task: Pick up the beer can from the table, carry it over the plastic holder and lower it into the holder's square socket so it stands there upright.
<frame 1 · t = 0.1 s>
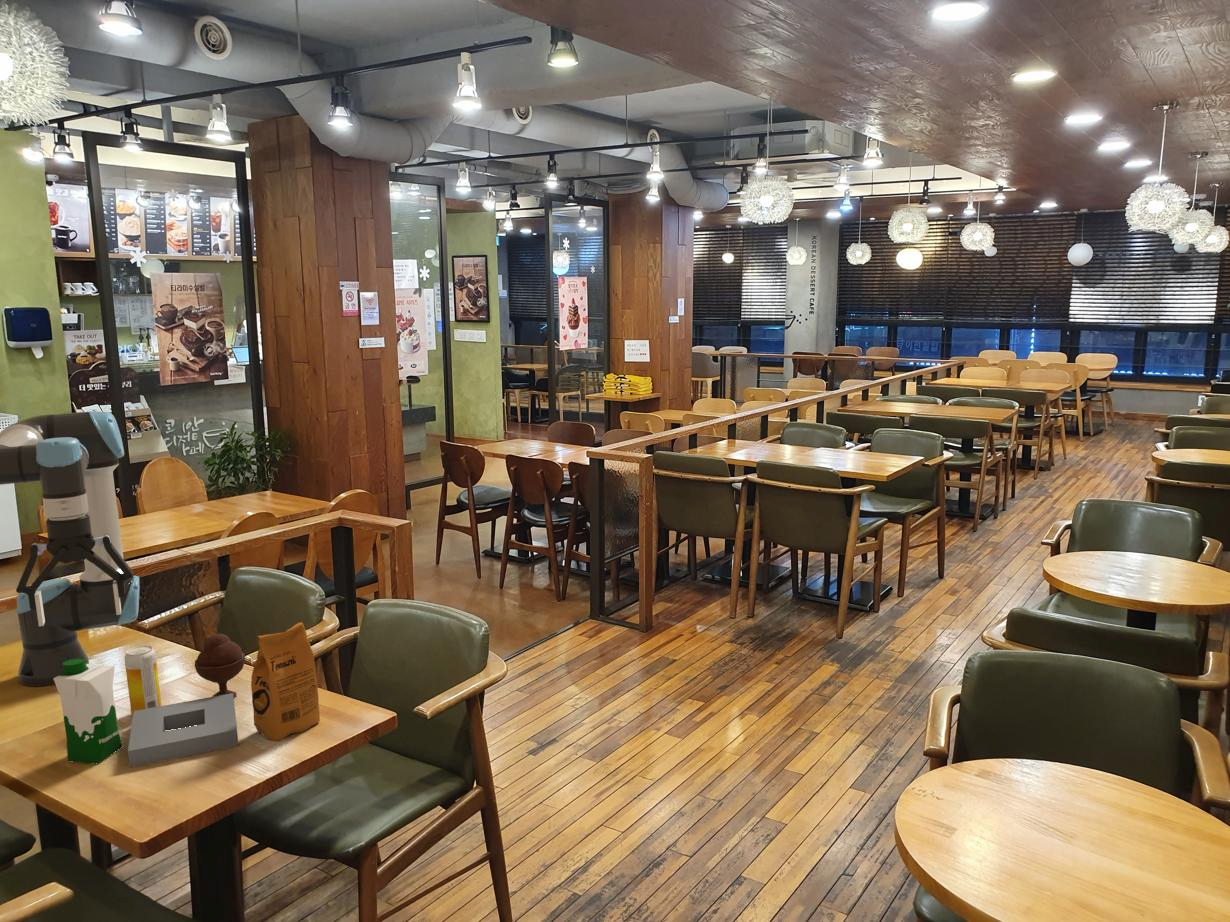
hand: (81, 618, 187), 28 cm above the table, tool pointing down, fingers open, 13 cm apart
ice cream bowl: (224, 698, 215), on the table
socket holder: (185, 735, 196), on the table
coffee package: (287, 728, 199), on the table
milk carton: (96, 755, 189), on the table
beer can: (147, 714, 207), on the table
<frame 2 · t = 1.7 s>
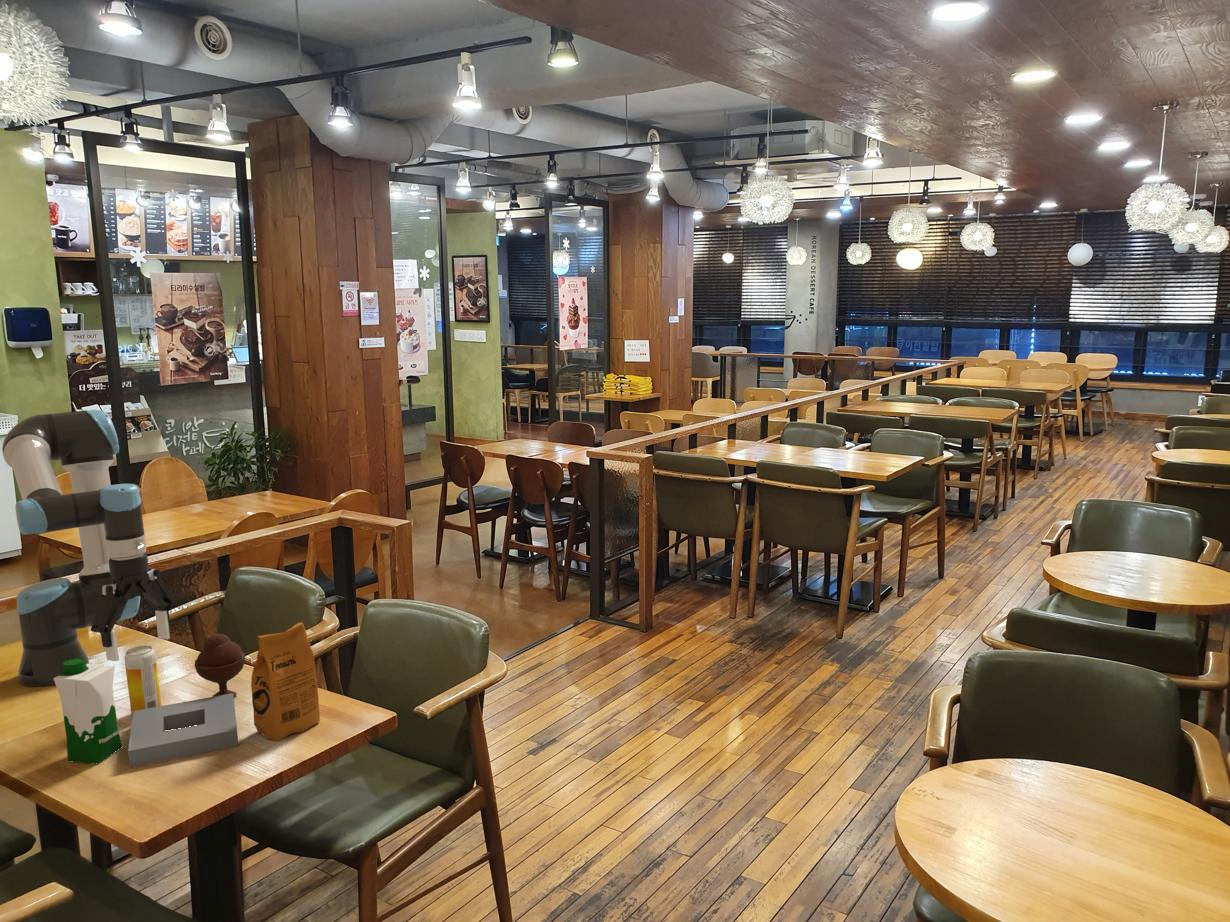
hand: (139, 649, 204), 15 cm above the table, tool pointing down, fingers open, 13 cm apart
nothing on the table moved.
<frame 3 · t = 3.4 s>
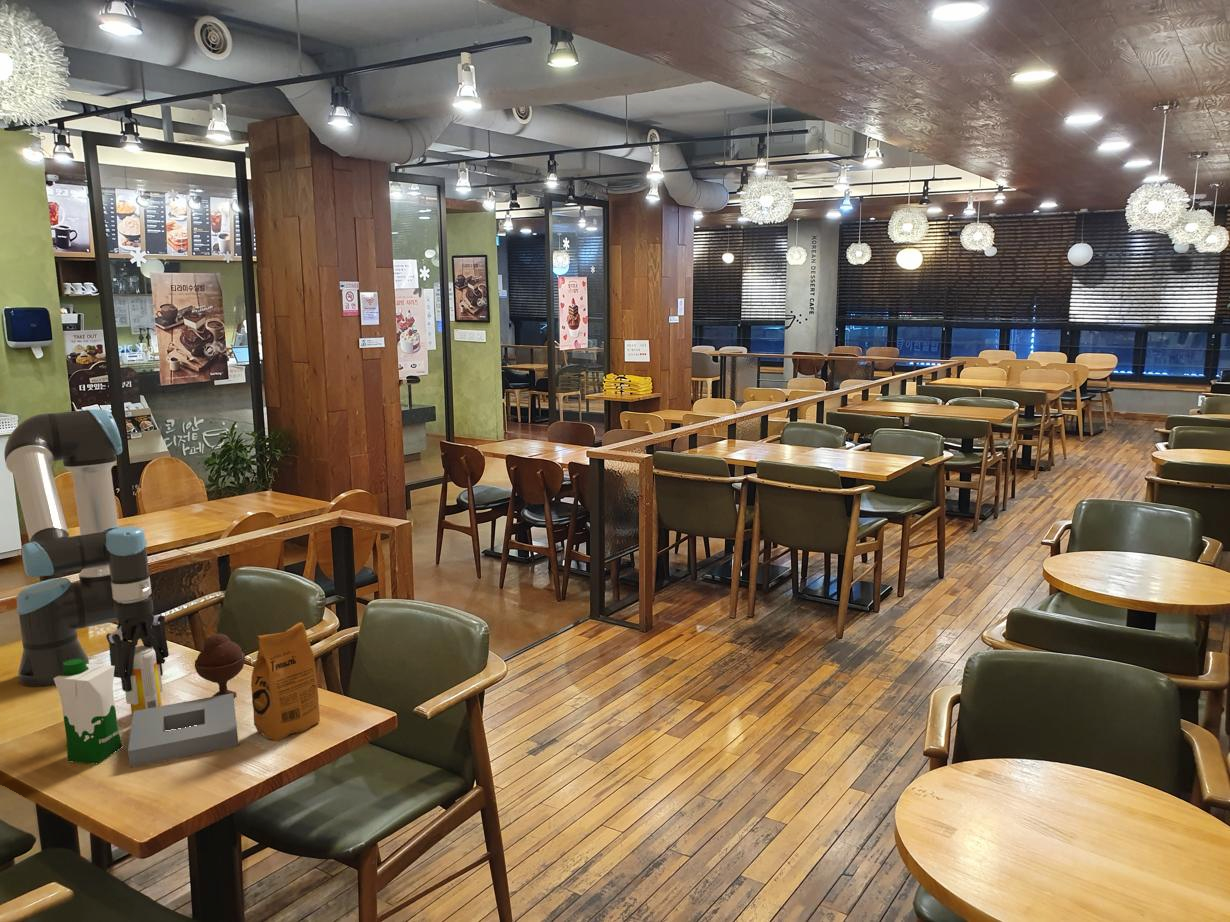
hand: (144, 697, 207), 4 cm above the table, tool pointing down, fingers closed on beer can, 6 cm apart
beer can: (147, 714, 207), on the table, touching gripper
everything else where it was.
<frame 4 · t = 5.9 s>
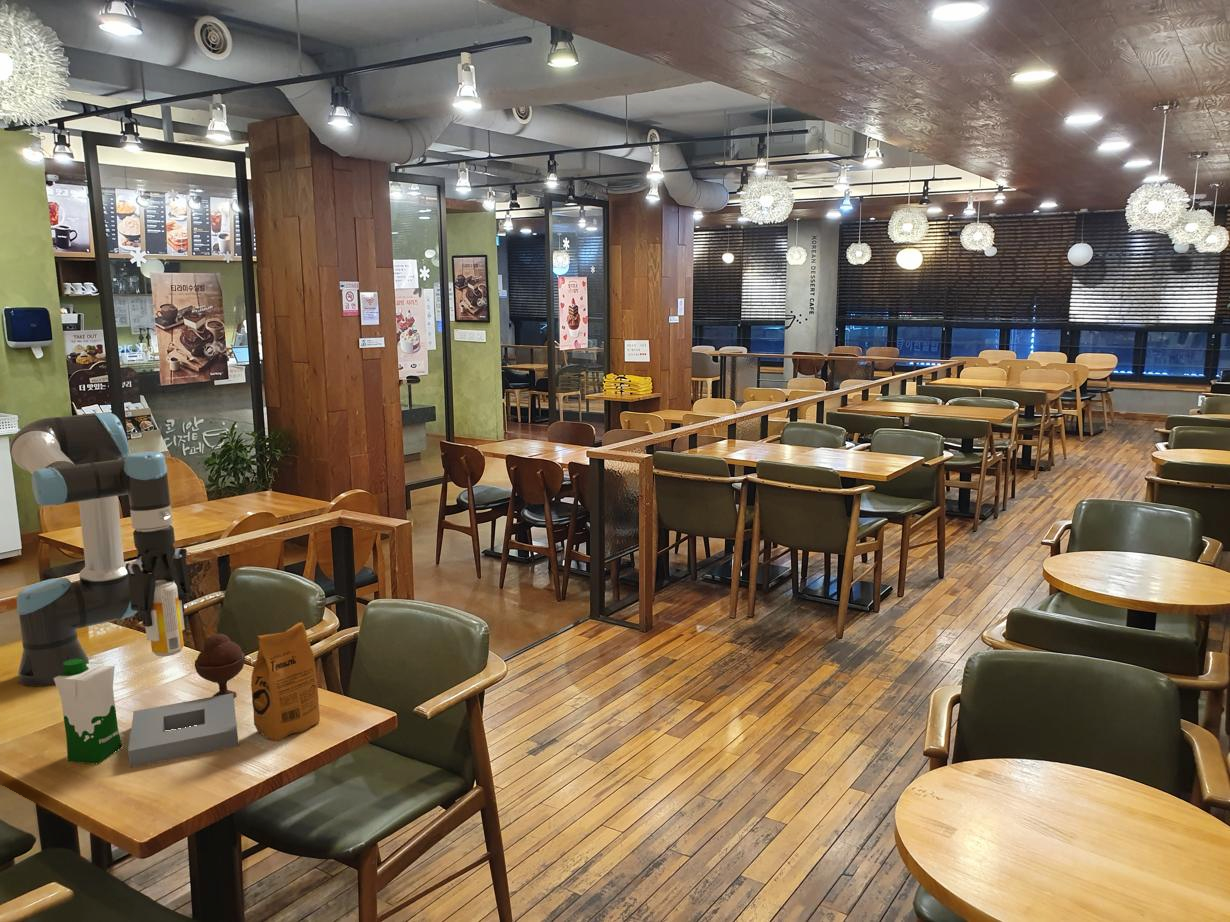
hand: (166, 634, 194), 22 cm above the table, tool pointing down, fingers closed on beer can, 6 cm apart
beer can: (168, 652, 195), point 18 cm above the table, touching gripper
everything else where it was.
when the fingers open (6 cm above the table, at t = 8.8 s): beer can drops 2 cm, resting in socket holder.
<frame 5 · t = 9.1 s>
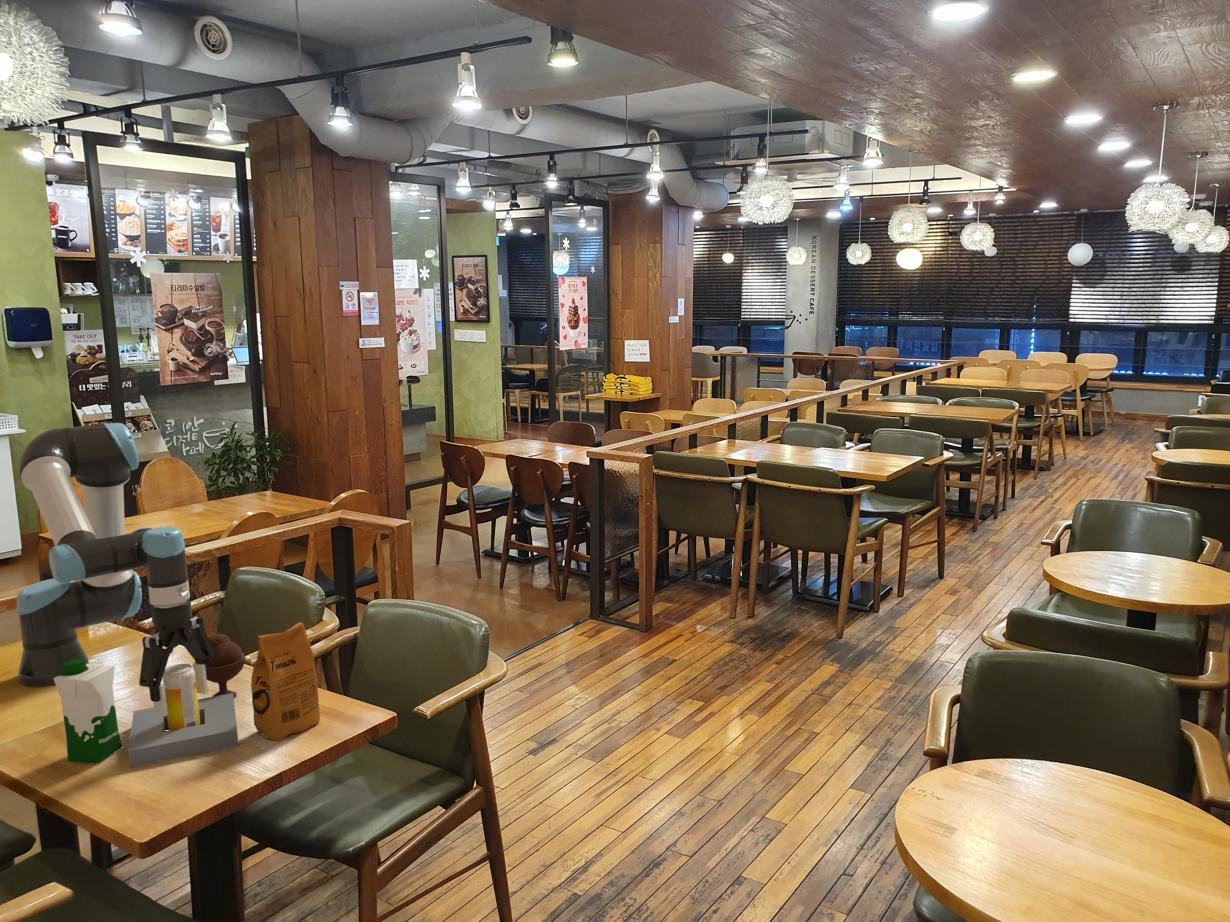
hand: (182, 703, 195), 7 cm above the table, tool pointing down, fingers open, 10 cm apart
beer can: (185, 736, 196), resting in socket holder
everything else where it was.
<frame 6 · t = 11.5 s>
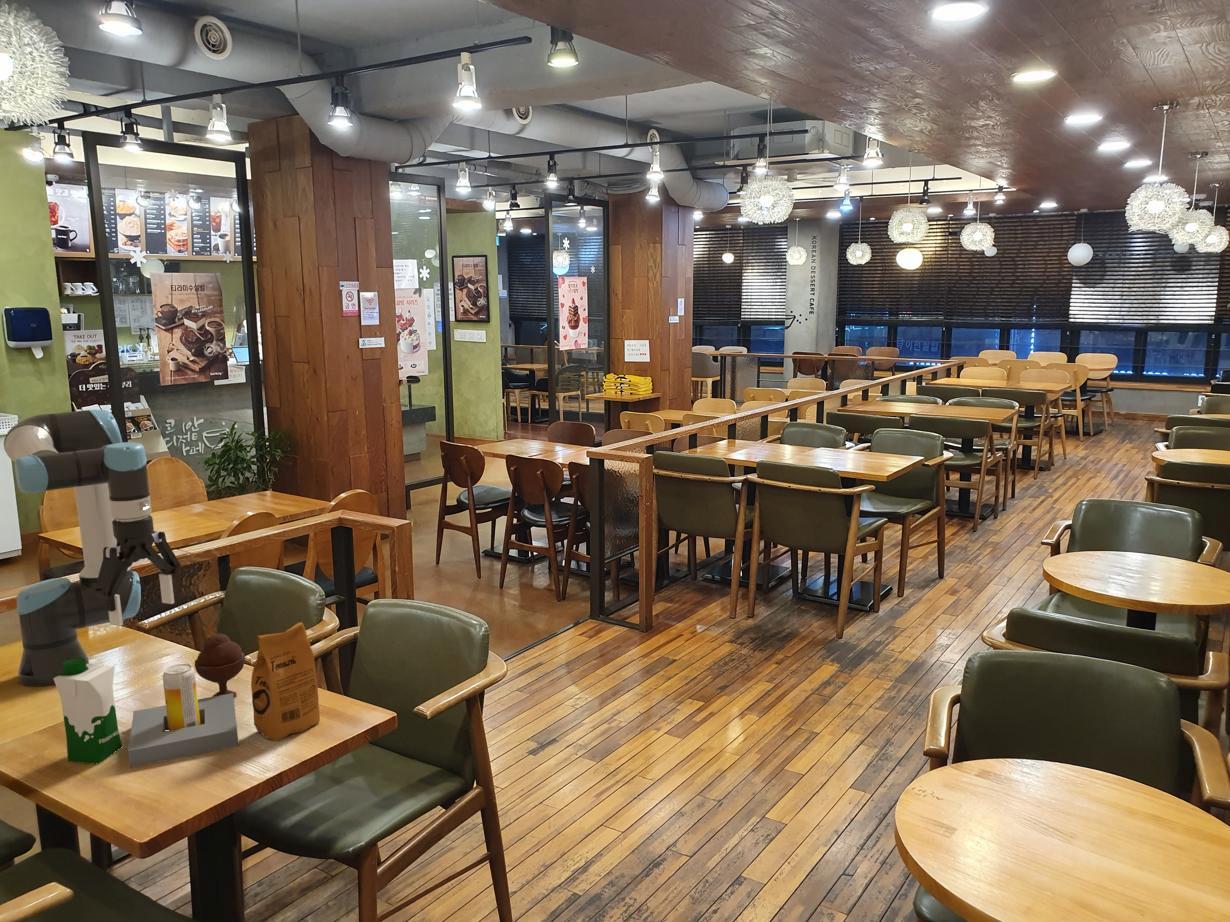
hand: (143, 613, 197), 25 cm above the table, tool pointing down, fingers open, 13 cm apart
nothing on the table moved.
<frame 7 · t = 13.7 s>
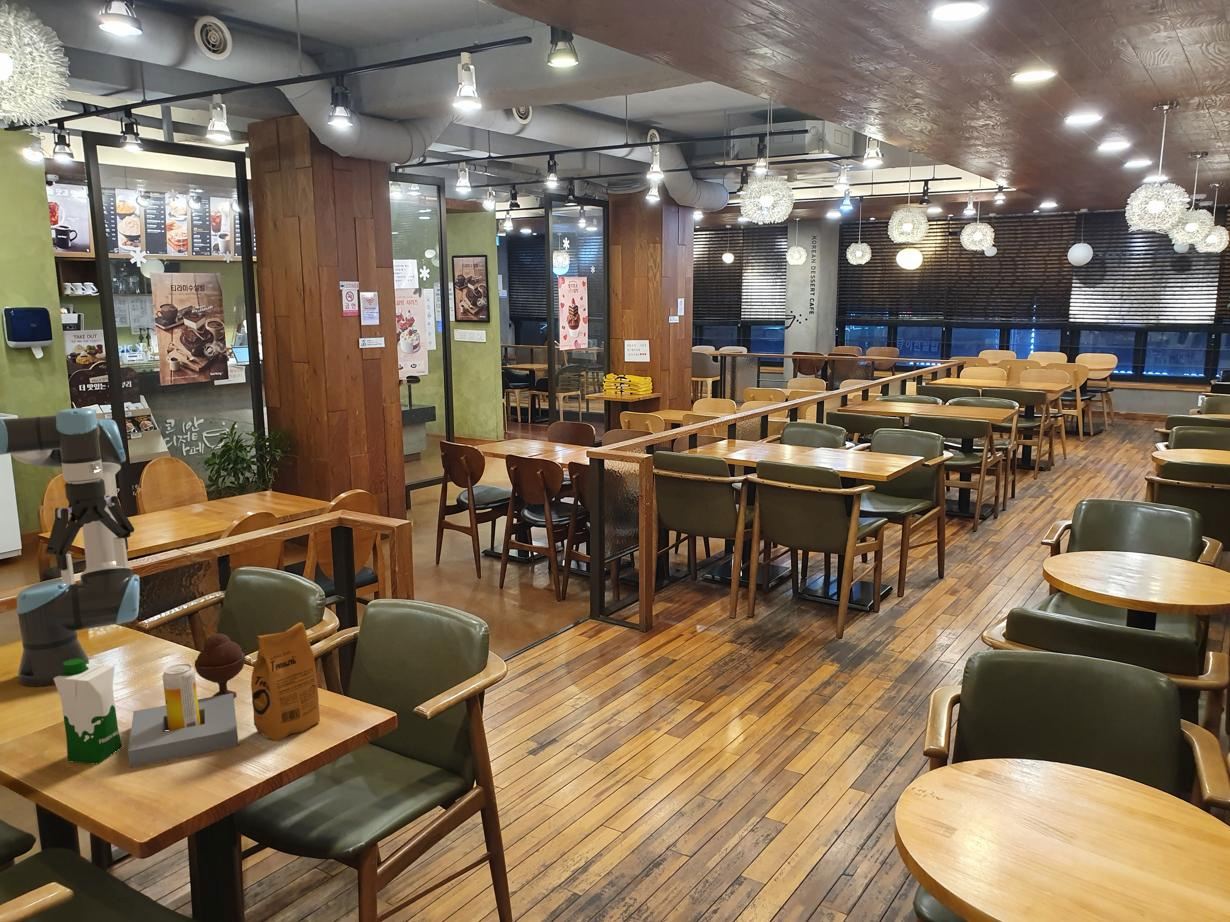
hand: (96, 574, 204), 32 cm above the table, tool pointing down, fingers open, 13 cm apart
nothing on the table moved.
at the end: beer can 0.1 cm off-centre on the socket holder, point 0.0 cm above the socket holder's base; beer can tilted 0°; the gripper is holding nothing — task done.
